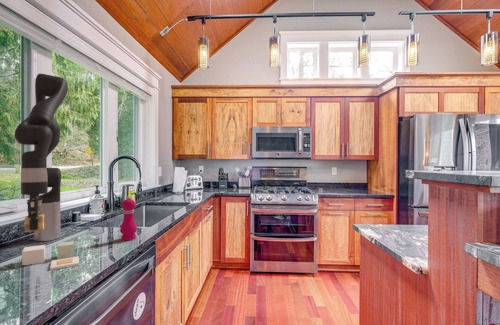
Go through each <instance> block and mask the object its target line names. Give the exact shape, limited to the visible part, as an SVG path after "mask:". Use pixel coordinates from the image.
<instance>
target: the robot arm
mask: <svg viewBox="0 0 500 325" xmlns="http://www.w3.org/2000/svg"><path fill="white" fill-rule="evenodd" d="M34 84H35V85H34V94H35V105H34V106H33V107H32V108H31V111H30V113H29V115H28V117H26V118H25V119H24V120H23V121H22V122H20V123H19V124H18V125H17V126H16V129H15V131H14V139H15V141H16V142H17V143H18V144H20V145H25V146H26V145H27V146H34V147H33V149H34V150H30V151H24V152H22V154H21V173H20V193H21V195H22V196H29V198H28V199H27V200H26V206H27V214H28V215H27V216H28V218H29V219H30V230H37V229H38V218H39V216H38V215H42V214H44V229H43V230H42V231H33V241H37V242H47V241H49V242H50V241H53V240H58V239H60V238H61V187H62V186H61V184H62V183H61V182H62V173H61V169H60V168H59V167H47V160H48V156H49V155H50V154H51V153H52V152H53V151H54V150H55V148H56V147H57V146H58V145H59V143H60V139H61V138H60V137H61V127H60V124H59V122H58V120H57V119H56V118H55V114H56V112H57V110H58V109H59V108H60V106H61V105H62V103H63V101H64V100H65V98H66V97H67V94H68V87H69V86H68V81H67V80H66V79H65V78H63V77H60V76H56V75H51V74H45V73H38V74H37V75H36V77H35V82H34ZM46 97H47V98H46ZM48 188H51V189H50V190H49V191H48Z"/></svg>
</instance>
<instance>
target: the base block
mask: <svg viewBox="0 0 500 325" xmlns="http://www.w3.org/2000/svg"><path fill="white" fill-rule="evenodd" d="M45 259H46V244H40V245H33V246H32V245H31V246H27V247H26V246H25V247H23V250H22V251H21V266H22V265H26V266H30V264H32V265H36V264H37V263H38V264H43V263H45Z"/></svg>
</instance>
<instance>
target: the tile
mask: <svg viewBox="0 0 500 325" xmlns="http://www.w3.org/2000/svg"><path fill="white" fill-rule="evenodd" d="M76 266H80V258H79V255H78V256H74V257H71V258H65V259H59V260H58V259H54V260H53V259H52V260H51V263H50V267H49V271H53V270H59V269H64V268H70V267H76Z"/></svg>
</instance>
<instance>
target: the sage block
mask: <svg viewBox="0 0 500 325" xmlns="http://www.w3.org/2000/svg"><path fill="white" fill-rule="evenodd" d="M71 257H75V241H74V240H73V241H65V242H64V241H63V242H58V243H57V260H59V259H65V258H71Z"/></svg>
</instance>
